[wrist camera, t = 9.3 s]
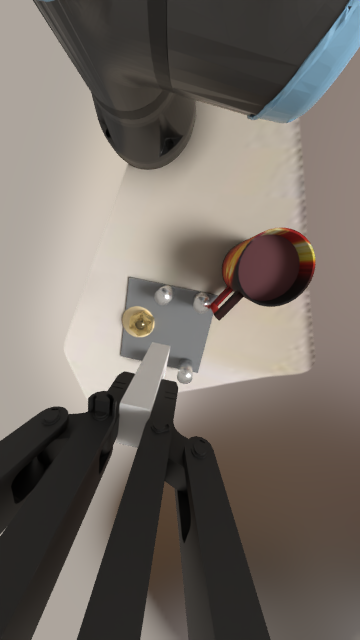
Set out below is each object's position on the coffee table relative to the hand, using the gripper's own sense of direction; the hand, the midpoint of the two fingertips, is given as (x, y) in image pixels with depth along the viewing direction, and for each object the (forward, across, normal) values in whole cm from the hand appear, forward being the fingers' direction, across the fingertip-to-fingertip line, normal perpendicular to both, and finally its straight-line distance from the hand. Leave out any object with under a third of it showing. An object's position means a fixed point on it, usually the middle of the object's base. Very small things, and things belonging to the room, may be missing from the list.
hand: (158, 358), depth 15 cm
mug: (+24, +11, +6) cm, 27 cm away
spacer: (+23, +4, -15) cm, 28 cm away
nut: (+23, -7, -7) cm, 25 cm away
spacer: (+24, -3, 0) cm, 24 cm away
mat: (+24, -2, -7) cm, 25 cm away
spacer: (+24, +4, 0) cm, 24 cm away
